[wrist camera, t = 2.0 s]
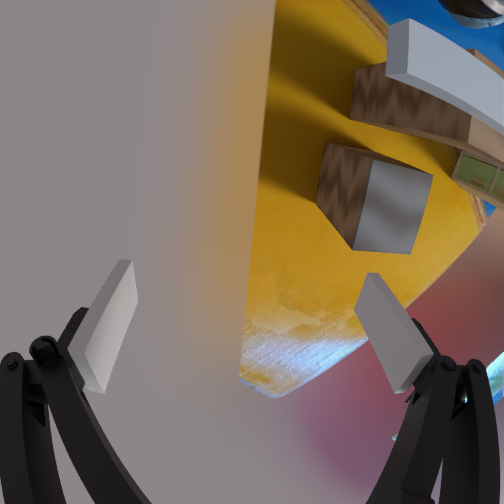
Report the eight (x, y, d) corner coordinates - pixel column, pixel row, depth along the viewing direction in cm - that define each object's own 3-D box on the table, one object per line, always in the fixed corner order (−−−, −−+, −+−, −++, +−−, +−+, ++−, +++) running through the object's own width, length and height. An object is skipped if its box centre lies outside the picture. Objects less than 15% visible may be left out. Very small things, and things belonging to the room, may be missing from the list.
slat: (388, 26, 13) (409, 18, 11) (541, 129, 16) (558, 135, 13) (385, 75, 15) (407, 73, 13) (537, 161, 18) (553, 169, 15)
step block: (325, 141, 46) (373, 159, 29) (373, 151, 47) (433, 175, 30) (314, 203, 52) (352, 250, 35) (361, 208, 53) (410, 254, 36)
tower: (355, 69, 39) (474, 48, 13) (400, 84, 40) (524, 90, 14) (349, 119, 44) (467, 143, 18) (394, 131, 45) (515, 169, 19)
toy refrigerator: (459, 146, 46) (527, 172, 28) (475, 162, 48) (538, 191, 29) (447, 176, 49) (513, 210, 31) (463, 189, 51) (524, 225, 33)
